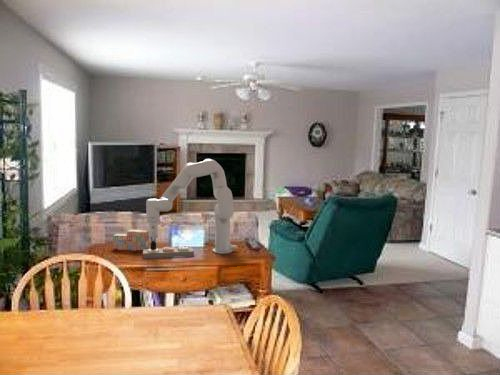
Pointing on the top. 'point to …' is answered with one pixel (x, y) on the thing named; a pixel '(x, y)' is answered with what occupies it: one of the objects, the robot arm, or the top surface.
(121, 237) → the stack of blocks
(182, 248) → the tile two
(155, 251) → the tile one
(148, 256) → the tile panel
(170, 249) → the tile three
